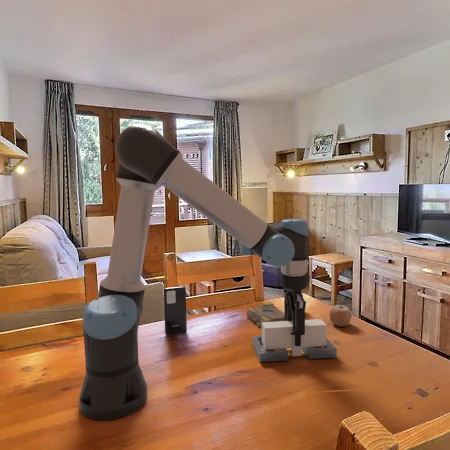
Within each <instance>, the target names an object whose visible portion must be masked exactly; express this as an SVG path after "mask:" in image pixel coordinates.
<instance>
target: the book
mask: <svg viewBox="0 0 450 450" xmlns="http://www.w3.org/2000/svg"><path fill="white" fill-rule="evenodd" d="M246 317H247V319H249V320H250V321H251V322H253V323H255V324H256V326H258V327H259V328H261V329H262V322H278V321H285V320H284V312H283V311H282V310H280V309H279V308H278V307H276V306H275V305H274V303H273V302H271V301H268V302H263V303H261V304H258V305H257V306H255V307H248V308H247V311H246Z"/></svg>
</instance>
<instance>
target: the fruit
mask: <svg viewBox="0 0 450 450" xmlns="http://www.w3.org/2000/svg"><path fill="white" fill-rule="evenodd" d="M352 315H353V314H352V311H351V309H350V308H349V307H348V306H346V305H342V302H339V304H337V305H333V306H332V307H331V308H330V310H329V319H330V322H331V323H332V324H333V325H335V326H337V327H340V328H341V327H346V326H347V325H349V324H350V323H351V320H352Z"/></svg>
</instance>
